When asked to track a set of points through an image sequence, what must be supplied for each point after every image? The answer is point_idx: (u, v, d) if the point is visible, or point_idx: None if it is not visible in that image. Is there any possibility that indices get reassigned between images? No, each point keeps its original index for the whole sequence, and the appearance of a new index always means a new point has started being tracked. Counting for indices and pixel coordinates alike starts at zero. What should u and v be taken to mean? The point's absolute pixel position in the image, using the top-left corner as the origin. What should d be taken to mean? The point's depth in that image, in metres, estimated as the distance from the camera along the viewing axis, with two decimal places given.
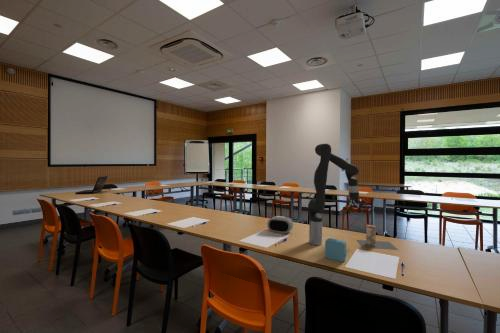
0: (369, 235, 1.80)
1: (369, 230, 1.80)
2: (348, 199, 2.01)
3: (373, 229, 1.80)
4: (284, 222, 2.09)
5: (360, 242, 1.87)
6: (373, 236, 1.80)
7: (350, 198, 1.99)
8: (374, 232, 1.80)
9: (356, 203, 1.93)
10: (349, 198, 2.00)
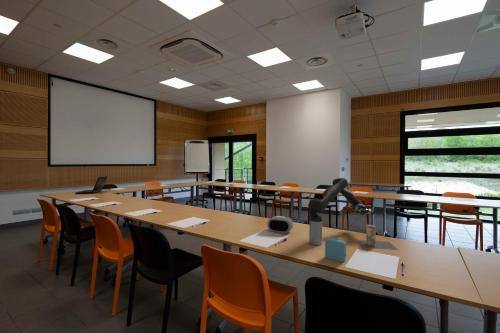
0: (369, 235, 1.80)
1: (369, 230, 1.80)
2: (356, 209, 2.03)
3: (373, 229, 1.80)
4: (284, 222, 2.09)
5: (360, 242, 1.87)
6: (373, 236, 1.80)
7: (359, 209, 2.04)
8: (374, 232, 1.80)
9: (369, 210, 2.00)
10: (357, 210, 2.04)
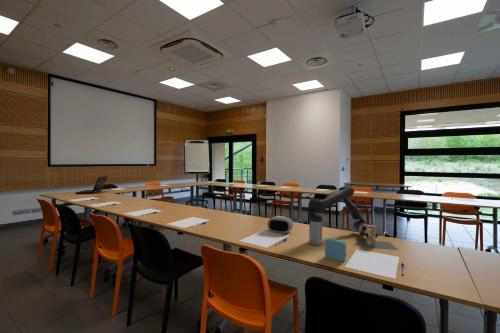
0: (369, 235, 1.80)
1: (369, 230, 1.80)
2: (360, 231, 1.90)
3: (373, 229, 1.80)
4: (284, 222, 2.09)
5: (360, 242, 1.87)
6: (373, 236, 1.80)
7: (363, 230, 1.91)
8: (374, 232, 1.80)
9: None
10: (361, 231, 1.91)
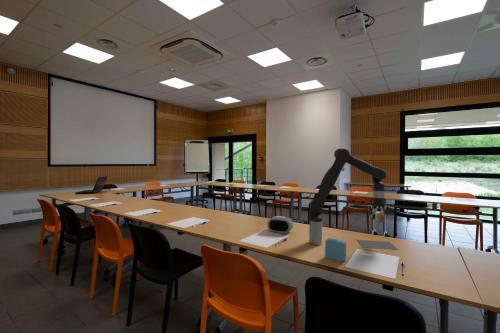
0: None
1: None
2: None
3: None
4: (284, 222, 2.09)
5: (360, 242, 1.87)
6: None
7: (374, 204, 1.82)
8: None
9: (382, 210, 1.81)
10: (371, 205, 1.83)
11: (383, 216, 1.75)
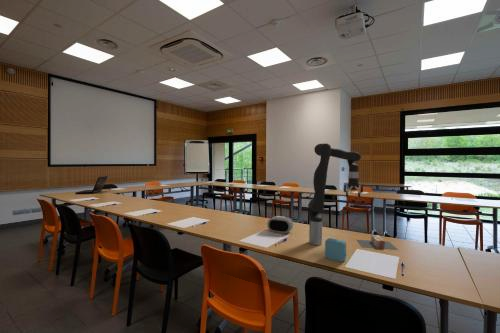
0: None
1: None
2: None
3: None
4: (284, 222, 2.09)
5: (360, 242, 1.87)
6: None
7: (349, 184, 1.97)
8: None
9: (358, 189, 1.96)
10: (347, 185, 1.98)
11: (383, 242, 1.76)
